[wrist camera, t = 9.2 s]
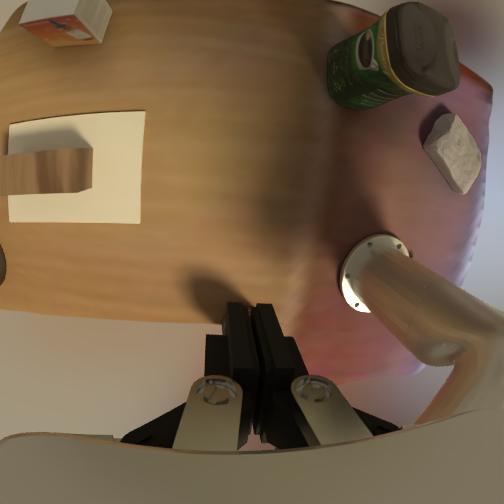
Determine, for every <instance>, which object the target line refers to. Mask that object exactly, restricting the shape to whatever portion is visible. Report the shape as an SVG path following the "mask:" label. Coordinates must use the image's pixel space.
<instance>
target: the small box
mask: <svg viewBox="0 0 504 504" xmlns="http://www.w3.org/2000/svg"><path fill="white" fill-rule="evenodd" d="M112 12H113V11H112V9H111V7H110V6H109V4H108V3H107V1H106V0H29V1H28V3H27V5H26V8H25V10H24V12H23V14H22V17H21V19H20V22H19V25H20V26H22V27H24V28H25V29H27V30H28V31H30V32H31V33H32V34H34V35H36V36H37V37H39V38H40V39H41V40H43V41H44V42H46V43H47V44H49V45H50V46H52V47H61V46H71V45H90V44H101V43H102V40H103V37H104V34H105V31H106V29H107V26H108V23H109V20H110V17H111V15H112Z"/></svg>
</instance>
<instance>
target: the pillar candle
mask: <svg viewBox="0 0 504 504" xmlns="http://www.w3.org/2000/svg"><path fill="white" fill-rule="evenodd" d="M5 275H6V260H5V256H4V253H3V249H2V247H1V245H0V285H1V284H2V283H3V281H4V279H5Z"/></svg>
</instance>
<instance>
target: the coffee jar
mask: <svg viewBox="0 0 504 504" xmlns="http://www.w3.org/2000/svg"><path fill="white" fill-rule="evenodd" d="M459 80H460V72H459V60H458V52H457V47H456V41H455V37H454V34H453V31H452V28H451V26H450V24H449V22H448V18H447V17H445V16H444V15H442V14H441V13H439V12H438V11H436V10H434V9H432V8H431V7H429V6H427V5H424V4H422V3H419V2H406V3H402V4H400V5H397V6H395V7H392V8H390V9H388V10H387V11H386V12H385V13H384V14H383V15H382V16H381V18H380V19H379V20H378V21H377V22H376V23H374V24H373V25H372V26H370V27H369V28H367V29H365V30H363V31H361V32H360V33H358V34H356V35H354V36H352V37H350V38H348V39H346V40H343V41H342V42H340V43H338V44H337V45H335V46H334V47H333V48H332V49H331V50H330V52H329V55H328V62H327V82H328V89H329V93H330V95H331V97H332V98H333V99H334V100H335V101H336V102H337V103H339V104H340V105H342V106H345V107H349V108H353V109H359V110H366V109H371V108H374V107H377V106H379V105H382V104H384V103H386V102H389V101H391V100H394V99H397V98H400V97H402V96H406V95H409V94H415V95H419V96H425V97H436V96H439V95H441V94H444V93H447V92H450V91H453V90H455V89H456V88H457V87H458V85H459Z"/></svg>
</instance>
